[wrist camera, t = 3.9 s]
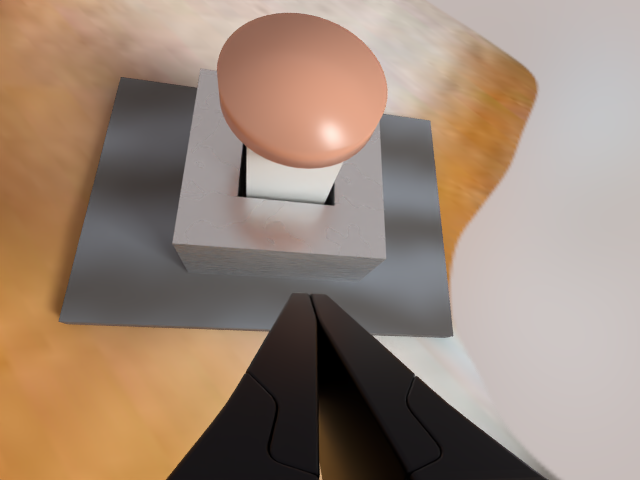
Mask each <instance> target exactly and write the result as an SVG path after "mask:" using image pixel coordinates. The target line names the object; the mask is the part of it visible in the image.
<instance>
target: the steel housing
mask: <svg viewBox="0 0 640 480" xmlns="http://www.w3.org/2000/svg"><path fill="white" fill-rule="evenodd" d="M246 165H247V146H245V145H244V144H243V143H242V142H241V141H240V140H239V139H238V138H237V137H236V135H235V134H234V133H233V132H232V130H231V129H230V127H229V126H228V124H227V122H226V120H225V118H224V116H223V113H222V110H221V106H220V99H219V89H218V78H217V71H213V70H206V69H200V76H199V82H198V88H197V94H196V100H195V106H194V113H193V119H192V125H191V131H190V137H189V144H188V150H187V156H186V162H185V168H184V174H183V181H182V187H181V193H180V199H179V205H178V212H177V218H176V224H175V230H174V236H173V242H172V244H173V245H174V247H175V249H176V251H177V253H178V255H179V256H180V258H181V260H182V262H183V264H184V266H185V267H186V269H187V271H188V272H190V273H206V274H223V275H240V276H256V277H273V278H289V279H306V280H322V281H339V282H356V283H358V282H359V281H360V280H362V279H363V278H364V277H365V276H366V275H368V274H369V273H370V272H371V271H372V270H374V269H375V268H376V267H377V266H378V265H380V264H381V263H382V262H383V261H384V260H386V242H385V222H384V202H383V182H382V162H381V142H380V122H379V123H378V125H377V127H376V128H375V130H374V132H373V134H372V136H371V138H370V139H369V141H368V142H367V144H366V145H365V146H364V147H363V148H362V149H361V150H360V151H359V152H358V153H357V154H356V155H354V156H353V157H351V158H350V159H348V160H346V161H344V162H343V164H342V166H341V168H340V170H339V173H338V175H337V177H336V179H335V181H334V184H333V186H332V188H331V190H330V192H329V195H328V197H327V199H326V201H325V203H324V205H320V204H309V203H299V202H289V201H278V200H268V199H257V198H247V197H243V186H244V176H245V166H246Z"/></svg>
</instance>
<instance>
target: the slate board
mask: <svg viewBox="0 0 640 480" xmlns="http://www.w3.org/2000/svg"><path fill="white" fill-rule="evenodd" d="M196 94H197V88H195V87H188V86H181V85H174V84H167V83H160V82H152V81H145V80H138V79H131V78H124V77H121V79H120V82H119V86H118V90H117V94H116V98H115V102H114V106H113V110H112V114H111V118H110V122H109V126H108V130H107V133H106V137H105V141H104V145H103V149H102V153H101V157H100V161H99V165H98V169H97V173H96V177H95V180H94V184H93V188H92V192H91V196H90V200H89V204H88V208H87V212H86V216H85V220H84V224H83V228H82V231H81V235H80V239H79V243H78V247H77V251H76V255H75V259H74V263H73V267H72V271H71V275H70V278H69V282H68V286H67V290H66V294H65V298H64V302H63V306H62V310H61V314H60V318H59V322H62V323H65V324H78V325H106V326H133V327H161V328H189V329H217V330H245V331H270V330H271V328H272V326H273V325H274V323H275V321H276V319H277V318H278V316H279V314H280V313H281V311H282V309H283V307H284V306H285V304H286V302H287V301H288V299H289V297H290V295H291V294H292V293H293V292H299V293H308V294H309V295H310V294H312V293H317V294H327V295H328V296H329V297H330V298H331V299H332V300H334V301H335V302H336V303H337V304H338V305H339V306H340V307H341V308H342V309H343V310H345V311H346V312H347V313H348V314H349V315H350V316H351V317H352V318H353V319H354V320H356V321H357V322H358V323H359V324H360V325H361V326H362V327H363V328H364V329H366V330H367V331H368V332H369V333H370V334H371V335H384V336H412V337H440V338H446V337H451V336H453V328H452V319H451V310H450V300H449V291H448V282H447V272H446V263H445V254H444V244H443V235H442V226H441V217H440V207H439V198H438V189H437V179H436V170H435V161H434V151H433V142H432V133H431V123H430V121H429V120H422V119H415V118H408V117H400V116H393V115H386V114H383V115H382V117H381V119H380V121H379V122H380V142H381V162H382V182H383V202H384V222H385V242H386V260H384V261H383V262H382V263H381V264H380V265H378V266H377V267H376V268H375V269H374V270H372V271H371V272H370V273H369V274H368V275H366V276H365V277H364V278H363V279H362V280H360V281H359V282H358V283H356V282H339V281H322V280H306V279H289V278H273V277H256V276H240V275H223V274H206V273H190V272H188V271H187V269H186V267H185V266H184V264H183V262H182V260H181V258H180V256H179V255H178V253H177V251H176V249H175V247H174V245H173V244H172V242H173V236H174V230H175V224H176V218H177V212H178V205H179V199H180V193H181V187H182V181H183V174H184V168H185V162H186V156H187V150H188V144H189V137H190V131H191V125H192V119H193V113H194V106H195V100H196ZM246 177H247V165H246V166H245V176H244V186H243V197H246Z"/></svg>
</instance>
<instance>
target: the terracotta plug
mask: <svg viewBox="0 0 640 480" xmlns="http://www.w3.org/2000/svg"><path fill="white" fill-rule="evenodd" d="M217 78H218V89H219V99H220V106H221V110H222V113H223V116H224V118H225V120H226V122H227V124H228V126H229V127H230V129H231V130H232V132H233V133H234V134H235V135H236V137H237V138H238V139H239V140H240V141H241V142H242V143H243V144H244V145H245V146H247V177H246V197H247V198H257V199H268V200H278V201H289V202H299V203H309V204H320V205H324V203H325V201H326V199H327V197H328V195H329V192H330V190H331V188H332V186H333V184H334V181H335V179H336V177H337V175H338V173H339V170H340V168H341V166H342V164H343V162H344V161H346V160H348V159H350V158H351V157H353V156H354V155H356V154H357V153H358V152H359V151H360V150H361V149H362V148H363V147H364V146H365V145H366V144H367V142H368V141H369V139H370V138H371V136H372V134H373V132H374V130H375V128H376V127H377V125H378V123H379V121H380V119H381V117H382V115H383V113H384V110H385V107H386V102H387V83H386V78H385V75H384V72H383V70H382V67H381V65H380V63H379V61H378V60H377V58H376V57H375V55H374V54H373V53H372V51H371V50H370V49H369V48H368V47H367V46H366V45H365V43H364V42H363V41H361V40H360V39H359V38H358V37H357V36H355V35H354V34H353V33H351V32H350V31H348V30H347V29H345V28H343V27H341V26H340V25H338V24H335V23H333V22H331V21H329V20H326V19H323V18H320V17H316V16H312V15H307V14H299V13H278V14H272V15H266V16H263V17H260V18H257V19H254V20H252V21H250V22H248V23H246V24H245V25H243V26H241V27H240V28H239V29H237V30H236V31H235V32H234V33H233V34H232V35H231V36H230V37H229V38H228V40H227V41H226V43H225V44H224V46H223V48H222V50H221V52H220V55H219V59H218V63H217Z"/></svg>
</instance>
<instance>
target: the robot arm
mask: <svg viewBox="0 0 640 480" xmlns="http://www.w3.org/2000/svg"><path fill="white" fill-rule="evenodd" d="M319 462H320V466H319ZM320 468H321V474H322V479H323V480H548V479H546V478H545V477H543V476H542V475H541V474H539V473H538V472H536V471H535V470H533V469H532V468H531V467H530V466H528V465H527V464H526V463H524V462H523V461H522V460H520V459H519V458H518V457H516V456H515V455H514V454H513V453H511V452H510V451H509V450H507V449H506V448H505V447H503V446H502V445H501V444H499V443H498V442H497V441H496V440H494V439H493V438H492V437H490V436H489V435H488V434H486V433H485V432H484V431H483V430H481V429H480V428H479V427H477V426H476V425H475V424H473V423H472V422H471V421H470V420H468V419H467V418H466V417H465V416H463V415H462V414H461V413H460V412H458V411H457V410H456V409H455V408H453V407H452V406H451V405H449V404H448V403H447V402H446V401H445V400H444V399H443V398H441V397H440V396H439V395H438V394H437V393H436V392H434V391H433V390H432V389H431V388H430V387H429V386H428V385H426V384H425V383H424V382H423V381H422V380H421V379H420V378H419V377H417V376H415V374H414V373H413V372H412V371H411V370H410V369H409V368H408V367H406V366H405V365H404V364H403V363H402V362H401V361H400V360H399V359H398V358H396V357H395V356H394V355H393V354H392V353H391V352H390V351H389V350H388V349H387V348H385V347H384V346H383V345H382V344H381V343H380V342H379V341H378V340H377V339H375V338H374V337H373V336H372V335H371V334H370V333H369V332H368V331H367V330H366V329H364V328H363V327H362V326H361V325H360V324H359V323H358V322H357V321H356V320H354V319H353V318H352V317H351V316H350V315H349V314H348V313H347V312H346V311H345V310H343V309H342V308H341V307H340V306H339V305H338V304H337V303H336V302H335V301H334V300H332V299H331V298H330V297H329V296H328V295H327V294H317V293H312V294H310V295H309V294H308V293H299V292H293V293H292V294H291V295H290V297H289V299H288V301H287V302H286V304H285V306H284V307H283V309H282V311H281V313H280V314H279V316H278V318H277V319H276V321H275V323H274V325H273V326H272V328H271V330H270V331H269V333H268V335H267V337H266V338H265V340H264V342H263V343H262V345H261V347H260V349H259V350H258V352H257V354H256V355H255V357H254V359H253V361H252V362H251V364H250V366H249V367H248V369H247V371H246V374H244V376H243V377H242V379H241V381H240V382H239V384H238V386H237V387H236V389H235V391H234V392H233V394H232V395H231V397H230V398H229V400H228V401H227V403H226V405H225V406H224V407H223V409H222V410H221V411H220V413H219V414H218V415H217V416H216V418H215V419H214V420H213V422H212V423H211V424H210V426H209V427H208V428H207V429H206V431H205V432H204V433H203V434H202V436H201V437H200V438H199V439H198V441H197V442H196V443H195V444H194V446H193V447H192V448H191V449H190V450H189V452H188V453H187V454H186V455H185V457H184V458H183V459H182V460H181V462H180V463H179V464H178V465H177V467H176V468H175V469H174V470H173V471H172V473H171V474H170V475H169V476H168V478H167V479H166V480H319V477H320Z"/></svg>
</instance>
